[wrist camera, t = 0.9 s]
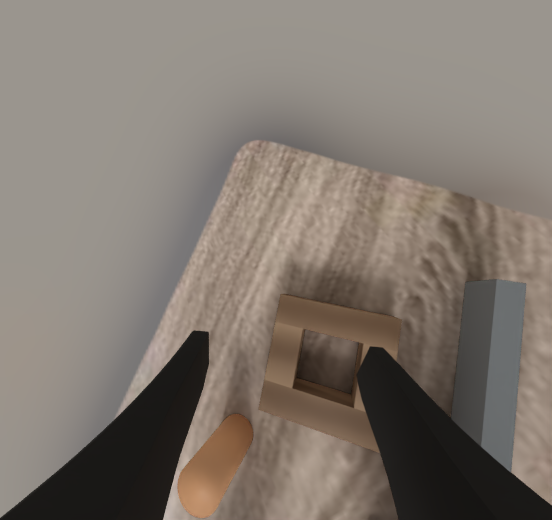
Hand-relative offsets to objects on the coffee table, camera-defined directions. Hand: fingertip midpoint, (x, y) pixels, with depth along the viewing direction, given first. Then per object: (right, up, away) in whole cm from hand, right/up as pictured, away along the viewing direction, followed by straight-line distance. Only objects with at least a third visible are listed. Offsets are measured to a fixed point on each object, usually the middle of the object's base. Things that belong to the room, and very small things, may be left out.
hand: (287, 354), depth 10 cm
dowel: (-5, -16, +16) cm, 24 cm away
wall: (+18, -9, +12) cm, 23 cm away
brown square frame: (+5, -7, +15) cm, 17 cm away
